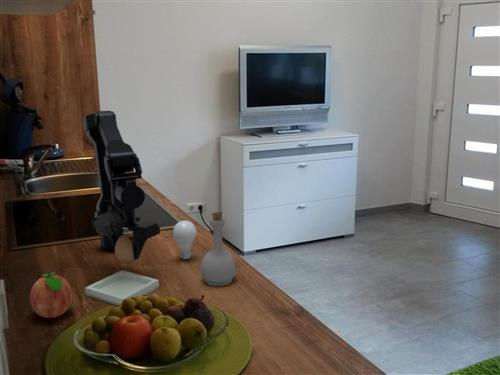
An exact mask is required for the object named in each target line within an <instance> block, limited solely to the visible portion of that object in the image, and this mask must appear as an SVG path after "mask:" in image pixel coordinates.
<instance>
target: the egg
mask: <svg viewBox="0 0 500 375" xmlns="http://www.w3.org/2000/svg"><path fill="white" fill-rule="evenodd" d="M123 234H124V233H123ZM131 236H132V234H129V233H125V234H124V235H122V236H121V237H120V238H119V239H118V241H117V243H116V245H115V252H114V253H115V254H114V255H115V256H116V258H117V260H118V261H119V262H120V263H122V264H124V265H129V264H132V263H134V262H135V261H136V260H135V259H134V254H133V245H132V241H131V240H130V239H129V238H128V237H131Z"/></svg>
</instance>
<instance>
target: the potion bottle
mask: <svg viewBox="0 0 500 375" xmlns="http://www.w3.org/2000/svg"><path fill="white" fill-rule="evenodd" d="M225 221H226V219H225V217H223V211H219V212H213V213H211V218H210V219H209V224H210V227H211V228H212V230H213V232H212V234H213V235H212V236H213V250H211V251H207V253H205V255H204V257H203V258H202V260H201V264H200V267H199V271H200V272H201V277H202V278H204V282H205V283H206V284H207V285H209V286H212V287H213V286H214V287H222V286H227V285H229V284H231V283H232V282H233V278H235V274H236V272H237V268H236V264H235V260H234V257H233V254H232V253H231V252H230V251H228V250H224V249H223V228H224V226H225V224H226V222H225Z"/></svg>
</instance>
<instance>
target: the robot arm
mask: <svg viewBox="0 0 500 375" xmlns="http://www.w3.org/2000/svg"><path fill="white" fill-rule="evenodd" d="M82 121H83V122H82V123H83V125H82V126H83V130H84V131H85V132H86V136H87V139H88V140H90V142H91V143H92V145H93V146H94V153H95V161H96V169H97V177H98V185H99V192H100V197H99V199H98V201H97V203H96V211H95V213H94V217H93V218H92V220H91V227H92V229H94V230H96V231H97V233H98V234H99V241H100V245H99V246H97V247H96V250H99V251H103V252H107V253H110V254H111V253H115V245H116V243H117V241H118V239H119V238H120V237H121V236H122V235H124V230H126V231H132V235H131V237H128V238H129V239H130V240H131V241H132V245H133V254H134V259H135V261H137V260H139V258H140V256H141V254H142V251H143V249H144V246H145V245H146V242H147V240H148V239H151V238H153V237H156V236H157V235H160V234H161V225H159V223H157V222H153V221H150V220H149V221H144V222H141V223H138V222H140V221H141V220H140V219H141V217H140V216H137V210H136V209H139V208H140V207H141V206H142V205H143V204H144V202H145V198H146V194H145V192H144V190H143V188H141V187H140V186H139V185H138V184H137V182H136V181H137V180H138V179H143V178H142V177H143V176H142V174H143V168H142V166H141V162H140V158H139V157H138V155H137V153H136V152H135V151H134V150H133V147H132V146H131V145H130V144H128V143H126V142H125V141H124V140H123V137H122V134H121V133H120V129H119V127H118V123H117V122H118V121H117V114H116V113H115V112H114V111H112V110H98V111H96V112H93V113H87V114H86V115H85V116H84V117H83V120H82Z"/></svg>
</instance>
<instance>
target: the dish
mask: <svg viewBox="0 0 500 375" xmlns="http://www.w3.org/2000/svg"><path fill="white" fill-rule="evenodd" d="M159 288H160V281H159V279H156V278H153V277H149V276H145V275H141V274H137V273H134V272H130V271H127V270H123V269H122V270H120V271H117V272H115V273H114V274H112V275H109V276H107V277H105V278H103V279H101V280H99V281H96V282H95V283H92V284H90V285H88V286H85V287H84V289H85V296H86V297H88V298H93V299H95V300H98V301H102V302H105V303H108V304H111V305H113V306H117V305H119V304H121V303H122V301H123V300H125V299H128V298H131V297H136V296H142V295H145V296H147V295H149V294H151V293H152V292H154V291H156V290H157V289H159Z"/></svg>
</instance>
